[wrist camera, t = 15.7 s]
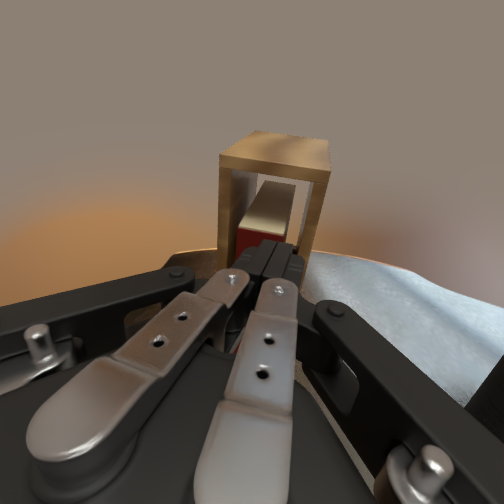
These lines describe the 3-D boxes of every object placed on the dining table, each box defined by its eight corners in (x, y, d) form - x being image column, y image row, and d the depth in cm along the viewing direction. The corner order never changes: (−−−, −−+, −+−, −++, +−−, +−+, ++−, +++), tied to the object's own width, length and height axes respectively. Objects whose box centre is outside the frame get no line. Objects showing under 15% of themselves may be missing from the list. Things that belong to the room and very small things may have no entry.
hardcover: (275, 295, 49) (296, 185, 38) (260, 366, 37) (284, 234, 25) (251, 289, 50) (264, 180, 38) (228, 358, 37) (237, 225, 26)
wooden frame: (292, 294, 50) (328, 140, 35) (281, 364, 37) (331, 170, 22) (241, 283, 51) (255, 130, 36) (214, 347, 38) (219, 153, 24)
